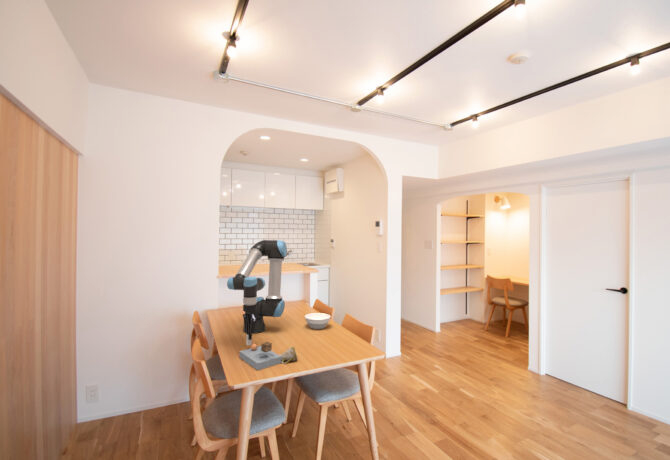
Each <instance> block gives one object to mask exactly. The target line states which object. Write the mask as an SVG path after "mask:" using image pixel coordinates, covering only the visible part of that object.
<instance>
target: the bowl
mask: <svg viewBox="0 0 670 460" xmlns="http://www.w3.org/2000/svg"><path fill="white" fill-rule="evenodd" d="M331 317H332V316H331V315H330V314H328V313H322V312H311V313H307V314H305V315H304V319H305V322H306V323H307V325H308V327H309V328H310V329H311V330H312V329H313V330H323V329H325V328H326V326H327V325H328V324H329V323H330V319H331Z"/></svg>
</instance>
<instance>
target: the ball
mask: <svg viewBox="0 0 670 460" xmlns="http://www.w3.org/2000/svg"><path fill="white" fill-rule="evenodd" d="M257 347H258V345H257V344H256V343H252V345H250V348H251V349H252V350H256V349H257Z"/></svg>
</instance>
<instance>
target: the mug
mask: <svg viewBox="0 0 670 460" xmlns="http://www.w3.org/2000/svg"><path fill="white" fill-rule="evenodd" d="M279 355H280V356H281V364H282V365H286V364H288V363H290V362H293V361H296V360H298V356H297V352H296V349H295V346H291V347H289V348H288V349H286V351H284V352H282V353H280V354H279Z"/></svg>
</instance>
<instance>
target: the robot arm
mask: <svg viewBox="0 0 670 460" xmlns="http://www.w3.org/2000/svg"><path fill="white" fill-rule="evenodd" d="M287 255H288V247H287V244H286V242H285V241H284V240H279V239H276V240H275V239H271V240H270V239H263V240H259V241H258V242H256V243H255V244H253V245H252V246H251V248H250V249H249V250H248V255H246V258H245V260H244V261H243V263H242V264H241V266H240V268H239V269H238V271H237V272H236V274H235V276H233V277H231V276H230V277H229V278H228V279H227V283H226V287H227V288H228V289H229V290H232V291H243V297H242V298H243V299H242V301H243V305H242V311H243V312H244V313H243V314H242V317H243V318H242V319H243V333H246V335H245V336H246V340H245V342H246V345H245V346H251V345H252V344H253V343H252V342H253V334H260V333H263V332H265V331H266V324H265V321H264V317H267V318H270V317H272V318H279V317H281V316H282V315H283V314H284V310H285V307H286V305H285V304H286V301H285V300H283V297H282V296H281V286H282V285H281V284H282V268H283V267H282V264H283V263H282V262H283V261H284V260H285V258H286V257H287ZM262 257H267V260H268V261H269V271H268V286H267V287H268V289H267V291H268V292H267V295H266V296H265V298H264V297H263V296H258V293H257V292H259V291H261V290H262V289H264V288H265V286H266V281H265V279H264V278H263V277H255V276H250V275H251V273H252V271H253V270H254V268H255V266H256V265H257V262H258V261H259V260H261V258H262Z"/></svg>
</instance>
